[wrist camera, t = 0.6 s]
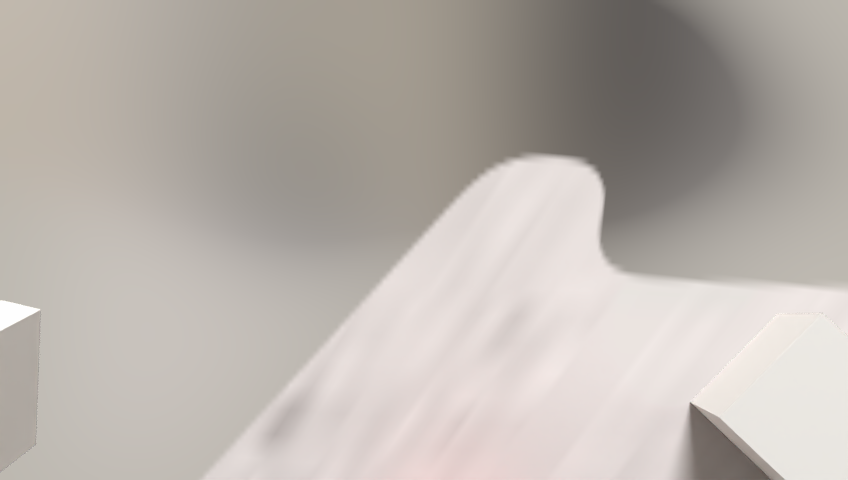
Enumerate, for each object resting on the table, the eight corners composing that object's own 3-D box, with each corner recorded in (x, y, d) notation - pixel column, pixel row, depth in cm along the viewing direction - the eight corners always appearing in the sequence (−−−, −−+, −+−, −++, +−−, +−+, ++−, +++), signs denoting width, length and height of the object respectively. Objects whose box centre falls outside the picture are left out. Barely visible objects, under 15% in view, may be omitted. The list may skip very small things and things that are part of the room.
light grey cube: (689, 401, 38) (718, 416, 32) (776, 313, 38) (821, 311, 32) (786, 494, 37) (834, 527, 31) (876, 403, 37) (942, 419, 31)
